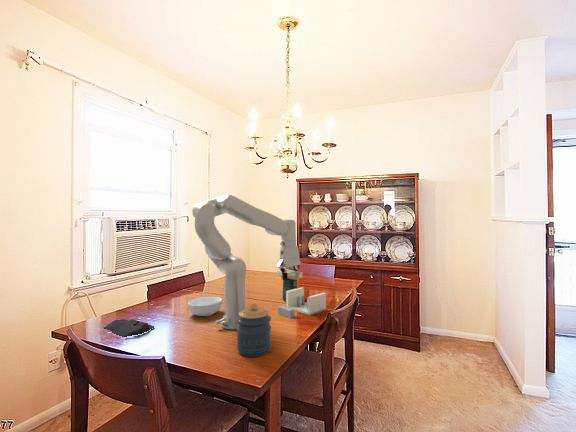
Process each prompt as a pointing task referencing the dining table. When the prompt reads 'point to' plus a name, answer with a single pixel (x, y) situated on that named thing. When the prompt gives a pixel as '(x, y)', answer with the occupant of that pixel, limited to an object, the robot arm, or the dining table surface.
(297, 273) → the board
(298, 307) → the peg stand
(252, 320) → the canister
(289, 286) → the coffee jar
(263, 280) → the dining table surface
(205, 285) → the dining table surface
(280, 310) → the block
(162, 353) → the dining table surface
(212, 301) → the cereal bowl
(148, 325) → the dark slate chunk
